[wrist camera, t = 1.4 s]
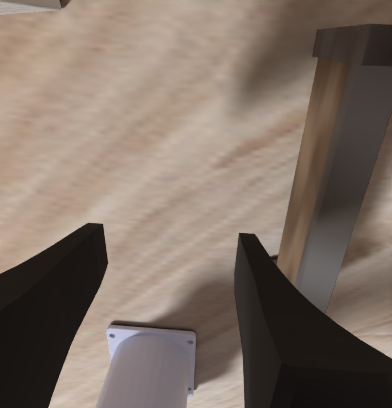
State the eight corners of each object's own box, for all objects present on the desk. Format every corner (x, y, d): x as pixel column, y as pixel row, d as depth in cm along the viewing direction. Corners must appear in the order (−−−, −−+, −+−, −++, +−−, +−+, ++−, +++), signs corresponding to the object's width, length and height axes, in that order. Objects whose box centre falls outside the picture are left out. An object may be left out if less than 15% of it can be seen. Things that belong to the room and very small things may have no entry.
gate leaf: (292, 269, 22) (315, 343, 17) (270, 267, 22) (286, 340, 17) (348, 30, 15) (420, 25, 10) (315, 29, 15) (369, 23, 10)
